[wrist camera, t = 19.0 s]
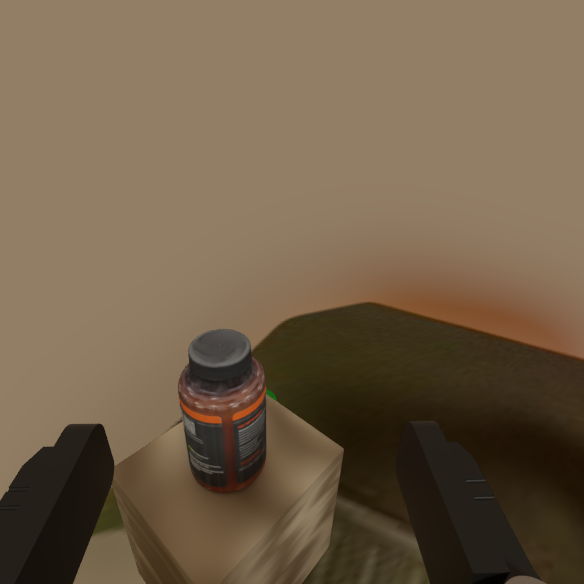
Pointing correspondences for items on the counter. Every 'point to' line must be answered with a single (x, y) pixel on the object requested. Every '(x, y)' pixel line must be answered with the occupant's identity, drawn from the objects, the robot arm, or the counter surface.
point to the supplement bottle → (224, 411)
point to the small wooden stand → (231, 509)
